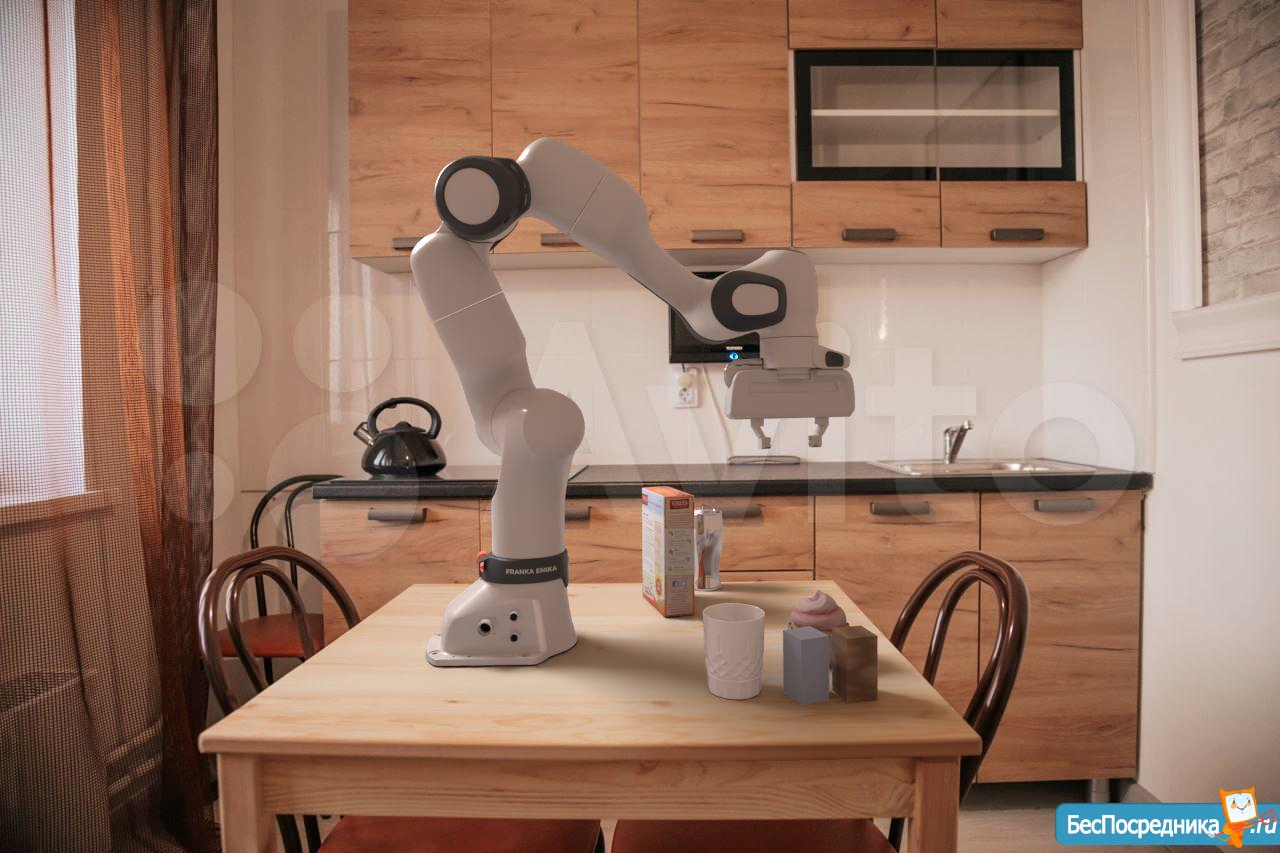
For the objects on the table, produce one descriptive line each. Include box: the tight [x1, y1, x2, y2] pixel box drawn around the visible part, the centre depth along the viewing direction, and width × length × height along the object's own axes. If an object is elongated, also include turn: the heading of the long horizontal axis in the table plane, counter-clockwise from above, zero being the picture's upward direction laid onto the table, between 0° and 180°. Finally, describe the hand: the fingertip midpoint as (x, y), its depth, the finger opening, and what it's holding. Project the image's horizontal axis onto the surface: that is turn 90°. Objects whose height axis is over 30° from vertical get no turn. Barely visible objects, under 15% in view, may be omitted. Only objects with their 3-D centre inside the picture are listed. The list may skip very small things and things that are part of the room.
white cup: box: [702, 602, 766, 701], centre depth 89 cm, size 8×8×10 cm
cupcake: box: [785, 589, 850, 667], centre depth 98 cm, size 9×9×10 cm
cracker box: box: [641, 486, 696, 618], centre depth 125 cm, size 14×6×21 cm, turn 15°
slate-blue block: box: [782, 626, 830, 706], centre depth 86 cm, size 4×4×8 cm
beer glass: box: [694, 508, 724, 592], centre depth 137 cm, size 7×7×15 cm
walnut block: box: [831, 625, 879, 705], centre depth 86 cm, size 4×4×8 cm
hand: (789, 448), depth 107 cm, fingers open, 7 cm apart
